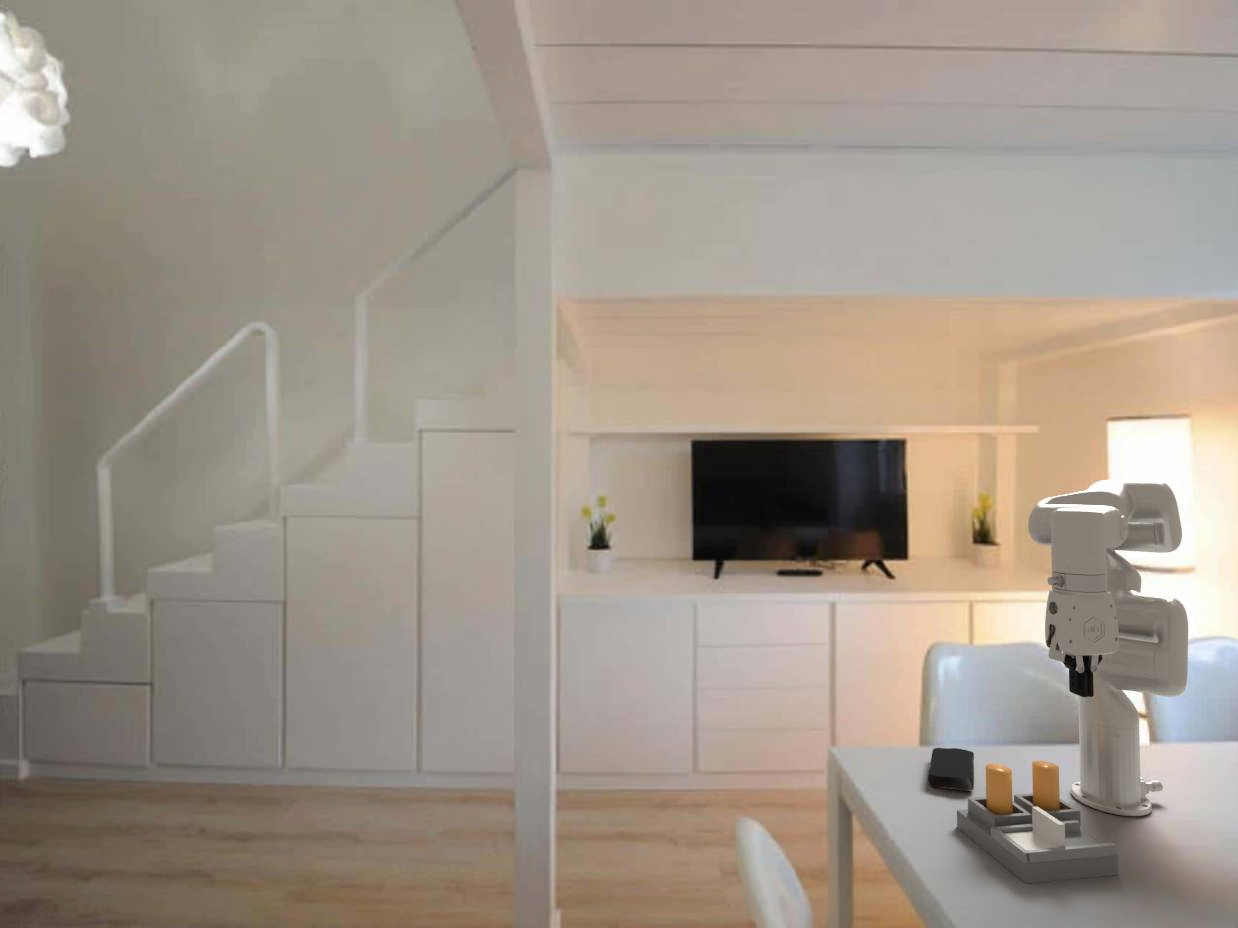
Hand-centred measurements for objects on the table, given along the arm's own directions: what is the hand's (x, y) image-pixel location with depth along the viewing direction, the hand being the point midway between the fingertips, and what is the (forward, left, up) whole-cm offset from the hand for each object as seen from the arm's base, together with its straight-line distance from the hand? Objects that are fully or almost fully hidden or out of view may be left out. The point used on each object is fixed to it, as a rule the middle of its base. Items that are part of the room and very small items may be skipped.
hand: (1081, 694), depth 111 cm
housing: (+6, -4, -27) cm, 28 cm away
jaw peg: (+9, -8, -24) cm, 27 cm away
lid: (+10, 0, -24) cm, 26 cm away
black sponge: (+3, -31, -28) cm, 42 cm away
